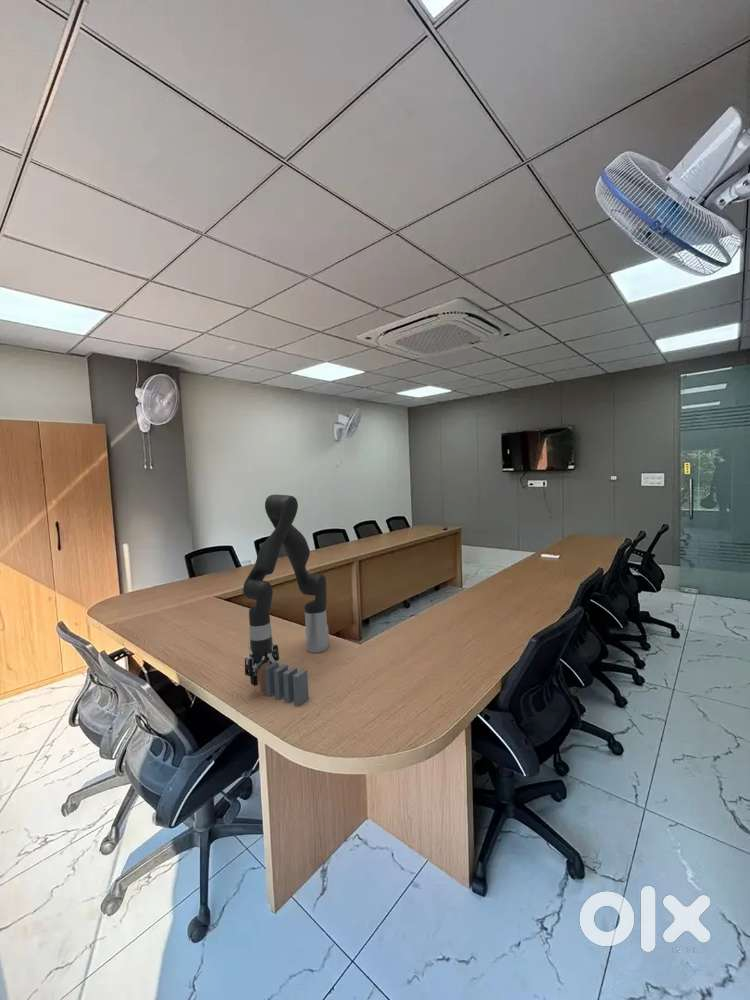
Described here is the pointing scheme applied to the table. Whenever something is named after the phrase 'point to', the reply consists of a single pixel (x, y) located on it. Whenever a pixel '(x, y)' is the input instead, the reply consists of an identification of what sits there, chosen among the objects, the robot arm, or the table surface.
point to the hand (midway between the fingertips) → (263, 679)
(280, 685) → the domino
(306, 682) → the domino
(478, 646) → the table surface
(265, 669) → the domino
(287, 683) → the domino
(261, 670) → the domino
